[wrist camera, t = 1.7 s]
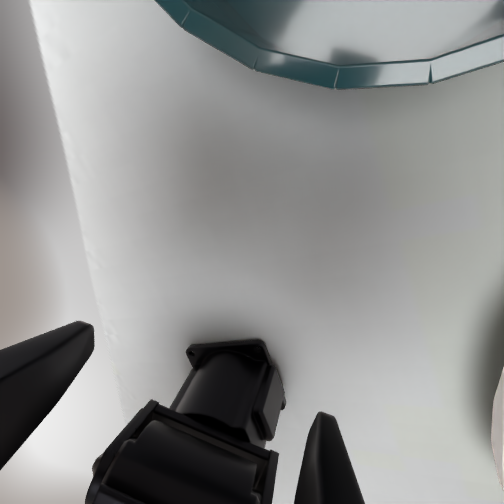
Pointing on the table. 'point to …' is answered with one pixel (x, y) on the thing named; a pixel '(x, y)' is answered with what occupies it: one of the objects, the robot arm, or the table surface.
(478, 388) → the table surface
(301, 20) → the bowl
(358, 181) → the table surface
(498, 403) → the plate
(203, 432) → the robot arm
